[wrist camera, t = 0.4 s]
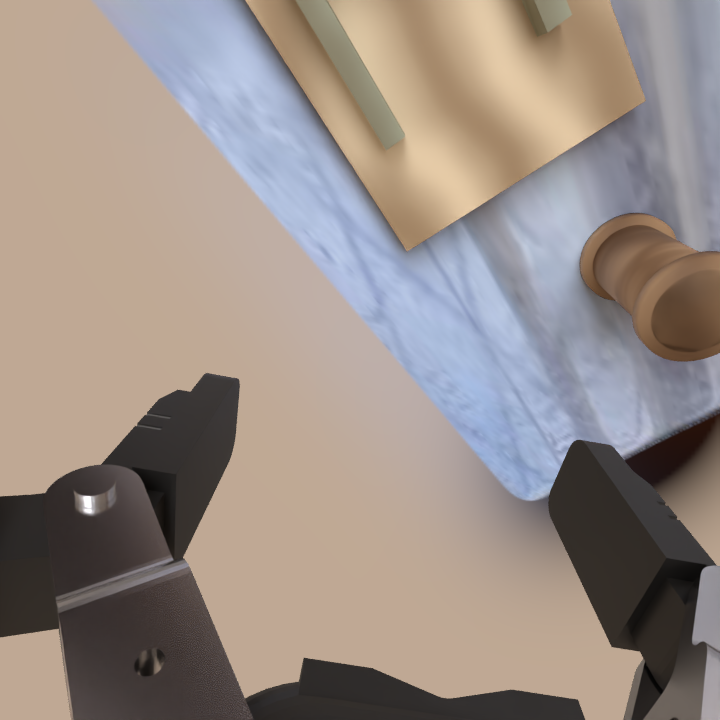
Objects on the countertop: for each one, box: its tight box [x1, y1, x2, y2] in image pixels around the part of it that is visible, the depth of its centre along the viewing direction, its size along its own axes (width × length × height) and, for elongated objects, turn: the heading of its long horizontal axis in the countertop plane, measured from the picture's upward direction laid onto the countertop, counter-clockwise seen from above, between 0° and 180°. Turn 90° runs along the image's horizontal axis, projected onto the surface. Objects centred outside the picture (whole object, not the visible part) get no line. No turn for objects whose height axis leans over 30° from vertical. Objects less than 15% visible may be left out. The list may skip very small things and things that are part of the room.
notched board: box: [245, 0, 646, 251], centre depth 23 cm, size 15×21×4 cm
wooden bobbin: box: [580, 213, 720, 361], centre depth 27 cm, size 6×6×9 cm
